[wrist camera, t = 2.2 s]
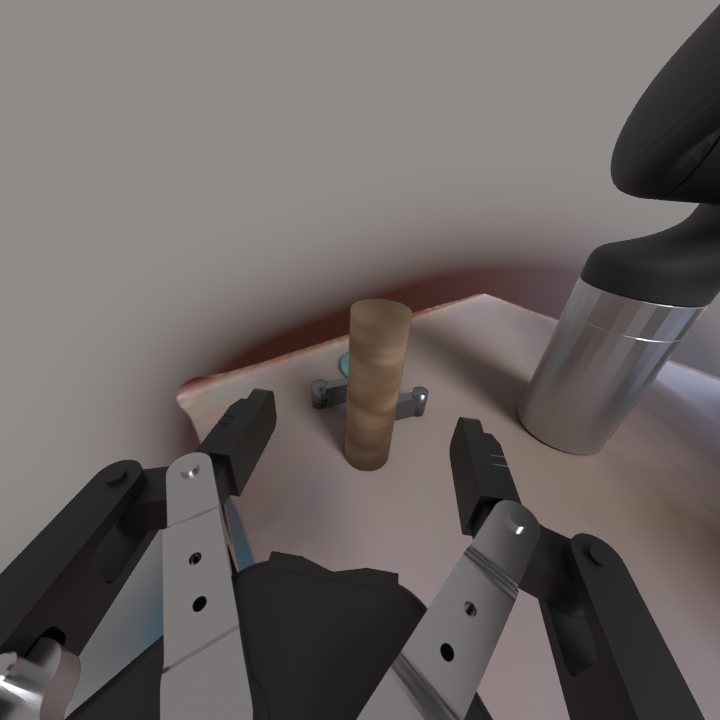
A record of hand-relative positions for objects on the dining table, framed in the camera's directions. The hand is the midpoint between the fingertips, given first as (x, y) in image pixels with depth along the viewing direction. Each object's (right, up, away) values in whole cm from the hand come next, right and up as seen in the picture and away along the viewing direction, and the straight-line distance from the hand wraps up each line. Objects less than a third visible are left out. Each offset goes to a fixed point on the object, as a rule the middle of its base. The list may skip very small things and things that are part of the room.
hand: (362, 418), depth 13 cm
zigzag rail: (+1, -3, +24) cm, 24 cm away
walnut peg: (+1, -7, +18) cm, 19 cm away
